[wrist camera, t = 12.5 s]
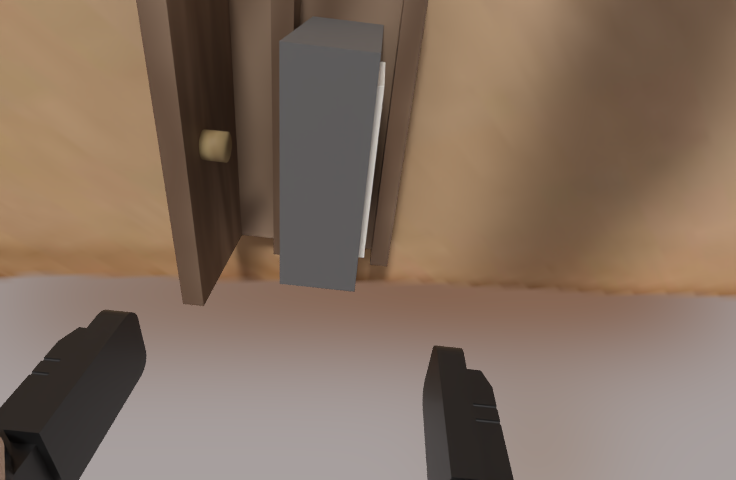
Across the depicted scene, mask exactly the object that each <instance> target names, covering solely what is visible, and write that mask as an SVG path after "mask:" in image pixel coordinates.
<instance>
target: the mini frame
mask: <svg viewBox="0 0 736 480" xmlns="http://www.w3.org/2000/svg"><path fill="white" fill-rule="evenodd" d="M383 28H384V25H381V24H373V23H364V22H356V21H348V20H339V19H331V18H323V17H314V16H313V17H311V18H310V19H309V20H307V21H306V22H305V23H303V24H302V25H301V26H299V27H298V28H296V29H295V30H294V31H292V32H291V33H290V34H288V35H287V36H286V37H284V38H283V39H282V40H280V41H279V120H280V284H288V285H297V286H307V287H317V288H325V289H335V290H345V291H355V282H356V273H357V264H358V257H362V258H364V252H365V243H366V235H367V227H368V219H369V210H370V202H371V194H372V185H373V177H374V169H375V160H376V152H377V144H378V136H379V127H380V119H381V111H382V102H383V94H384V84H385V62H380V60H381V50H382V39H383Z"/></svg>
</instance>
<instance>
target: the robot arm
mask: <svg viewBox="0 0 736 480" xmlns="http://www.w3.org/2000/svg"><path fill="white" fill-rule="evenodd" d="M145 363H146V350H145V346H144V341H143V337H142V333H141V329H140V325H139V321H138V317H137V315H136V314H135V313H132V312H122V311H112V310H103V311H101V312H100V313H99V314H98V315H97V316H96V318H95V319H94V320H93V321H92V322H91V323H90V325H89V326H88V327H87V328H81V327H79V328H77V329H76V330H74V331H73V332H71V333H70V334H68V335H67V336H65V337H64V338H62V339H61V340H59V341H58V342H57V343H56V345H55V346H54V347H53V348H52V349H51V350H50V351H49V353H48V354H47V355H46V356H45V357H44V360H43V361H41V362H40V363H39V364H38V365H37V366H36V367H35V369H34V370H33V371H32V374H31V375H28V377H27V378H26V379H25V380H24V381H23V382H22V383H21V385H20V386H19V387H18V388H17V389H16V390H15V391H14V393H13V394H12V395H11V396H10V397H9V398H8V399H7V401H6V402H5V403H4V404H3V405H2V407H0V480H79V478H80V477H81V475H82V473H83V472H84V470H85V468H86V467H87V465H88V463H89V462H90V460H91V458H92V457H93V455H94V453H95V452H96V450H97V448H98V447H99V445H100V443H101V442H102V440H103V438H104V437H105V435H106V433H107V432H108V430H109V428H110V427H111V425H112V423H113V422H114V420H115V418H116V417H117V415H118V413H119V412H120V410H121V408H122V407H123V405H124V403H125V402H126V400H127V398H128V397H129V395H130V394H131V392H132V390H133V388H134V387H135V385H136V383H137V382H138V380H139V378H140V377H141V375H142V373H143V370H144V367H145ZM423 418H424V433H425V447H426V462H427V477H428V480H513V475H512V471H511V467H510V462H509V458H508V454H507V449H506V445H505V441H504V436H503V432H502V428H501V425H500V419H499V415H498V410H497V409H496V402H495V397H494V393H493V389H492V386H491V385H490V383H489V382H488V381H487V379H486V378H485V376H484V375H483V373H482V372H481V371H480V370H471V369H467V368H466V363H465V357H464V352H463V350H462V348H453V347H444V346H434V347H433V350H432V354H431V358H430V362H429V366H428V370H427V374H426V378H425V382H424V388H423Z"/></svg>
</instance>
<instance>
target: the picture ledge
mask: <svg viewBox="0 0 736 480" xmlns="http://www.w3.org/2000/svg"><path fill="white" fill-rule="evenodd" d="M136 2H137V9H138V15H139V22H140V28H141V34H142V41H143V47H144V54H145V60H146V67H147V73H148V80H149V86H150V93H151V99H152V106H153V112H154V118H155V125H156V131H157V138H158V144H159V151H160V157H161V164H162V170H163V177H164V183H165V190H166V196H167V202H168V209H169V215H170V222H171V228H172V235H173V241H174V248H175V254H176V261H177V267H178V274H179V280H180V286H181V293H182V299H183V304H190V305H199V306H204V304H205V303H206V301H207V299H208V297H209V295H210V293H211V291H212V289H213V288H214V286H215V284H216V282H217V280H218V278H219V277H220V275H221V273H222V271H223V269H224V267H225V265H226V263H227V262H228V260H229V258H230V256H231V254H232V252H233V250H234V249H235V247H236V245H237V243H238V241H239V239H240V237H241V236H242V235H248V236H257V237H266V238H274V254H278V255H280V120H279V41H280V40H282V39H283V38H284V37H286V36H287V35H288V34H290V33H291V32H292V31H294V30H295V29H296V28H298V27H299V26H301V25H302V24H303V23H305V22H306V21H307V20H309V19H310V18H311V17H313V16H314V17H323V18H331V19H339V20H348V21H356V22H364V23H373V24H381V25H384V28H383V39H382V50H381V60H380V62H385V84H384V94H383V102H382V111H381V119H380V127H379V136H378V144H377V152H376V160H375V169H374V177H373V185H372V194H371V202H370V210H369V219H368V227H367V235H366V243H365V248H367V249H371V258H370V265H380V266H387V263H388V256H389V250H390V244H391V237H392V231H393V224H394V218H395V211H396V205H397V198H398V192H399V185H400V179H401V172H402V166H403V159H404V153H405V147H406V140H407V134H408V127H409V121H410V114H411V108H412V101H413V95H414V88H415V82H416V75H417V69H418V62H419V56H420V50H421V43H422V37H423V30H424V24H425V17H426V11H427V4H428V0H136Z"/></svg>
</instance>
